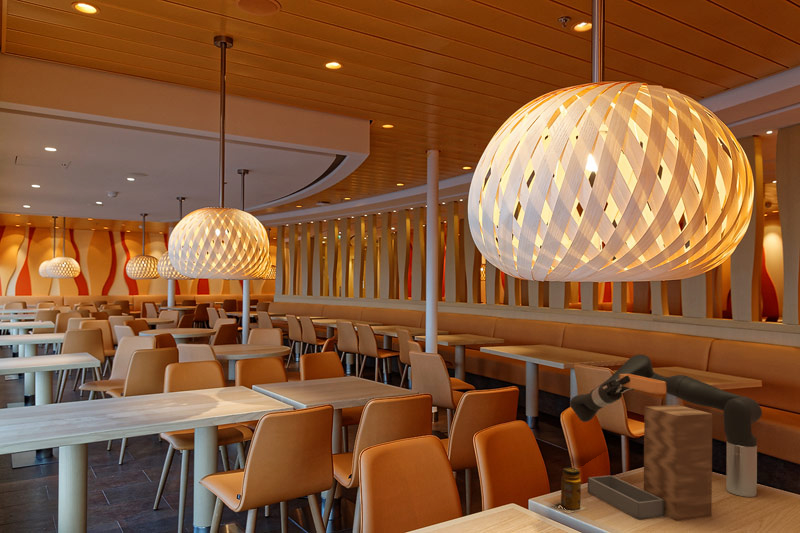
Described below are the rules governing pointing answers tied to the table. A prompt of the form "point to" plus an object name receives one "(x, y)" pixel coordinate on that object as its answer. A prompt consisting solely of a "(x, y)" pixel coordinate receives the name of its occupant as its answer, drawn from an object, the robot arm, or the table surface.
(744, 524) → the table surface
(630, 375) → the narrow crate
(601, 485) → the charcoal crate
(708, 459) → the walnut stand
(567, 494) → the condiment
